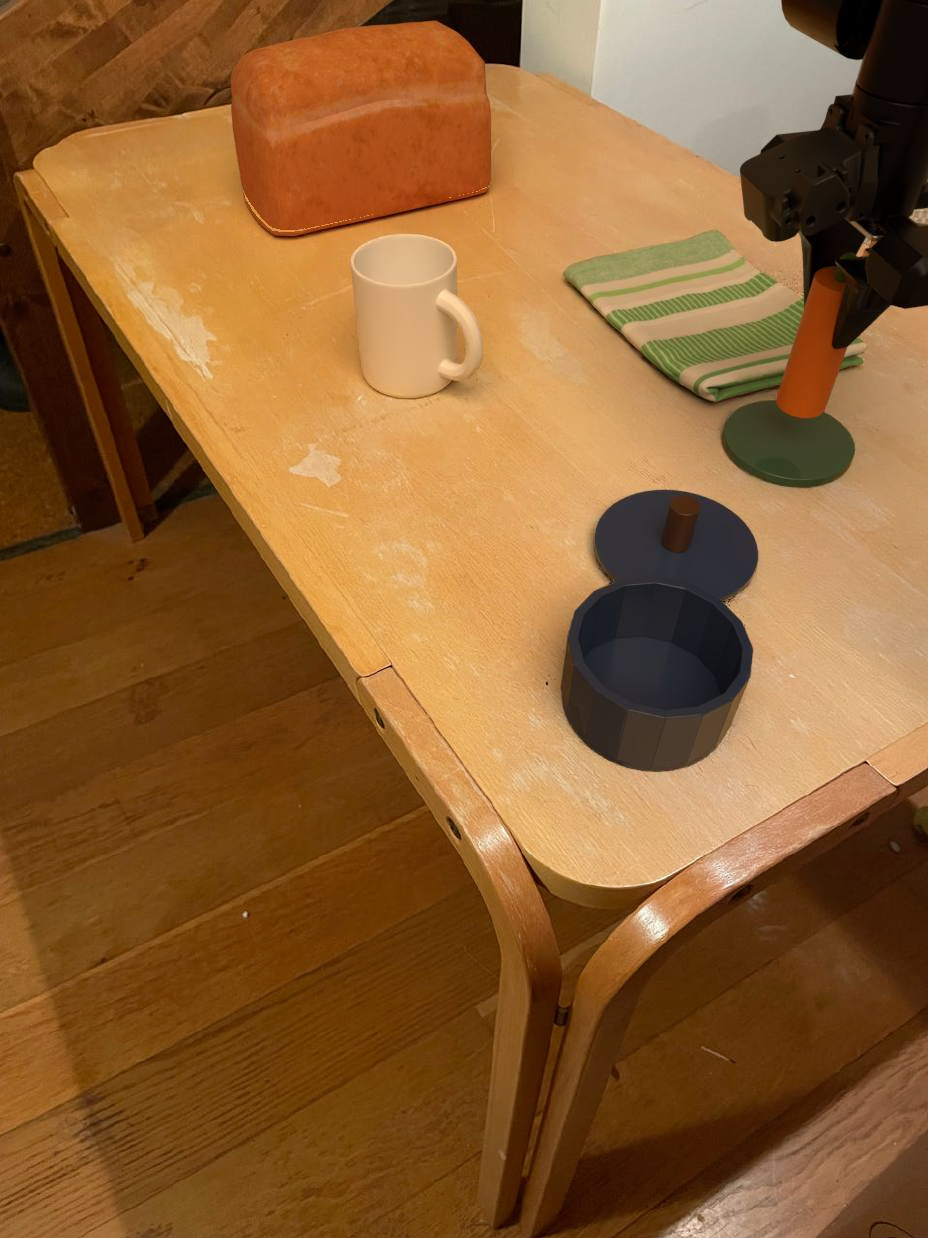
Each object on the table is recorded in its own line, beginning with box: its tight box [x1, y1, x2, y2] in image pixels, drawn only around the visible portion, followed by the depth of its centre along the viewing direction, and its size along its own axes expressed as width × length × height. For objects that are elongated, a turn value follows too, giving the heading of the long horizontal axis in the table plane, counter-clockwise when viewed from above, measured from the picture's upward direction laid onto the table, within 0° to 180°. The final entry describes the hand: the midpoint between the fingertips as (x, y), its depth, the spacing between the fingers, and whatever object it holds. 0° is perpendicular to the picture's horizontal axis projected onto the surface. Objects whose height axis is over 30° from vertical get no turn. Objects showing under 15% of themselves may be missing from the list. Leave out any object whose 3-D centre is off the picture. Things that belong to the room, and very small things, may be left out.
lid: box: [593, 489, 759, 603], centre depth 61 cm, size 11×11×5 cm
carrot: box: [775, 252, 858, 418], centre depth 63 cm, size 4×4×12 cm
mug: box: [349, 233, 484, 399], centre depth 72 cm, size 12×8×10 cm
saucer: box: [721, 399, 856, 488], centre depth 70 cm, size 10×10×1 cm
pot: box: [560, 576, 754, 773], centre depth 52 cm, size 10×10×6 cm
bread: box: [229, 20, 492, 237], centre depth 93 cm, size 14×26×16 cm, turn 116°
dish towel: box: [562, 228, 868, 403], centre depth 81 cm, size 18×23×3 cm
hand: (825, 332), depth 63 cm, fingers closed on carrot, 3 cm apart
